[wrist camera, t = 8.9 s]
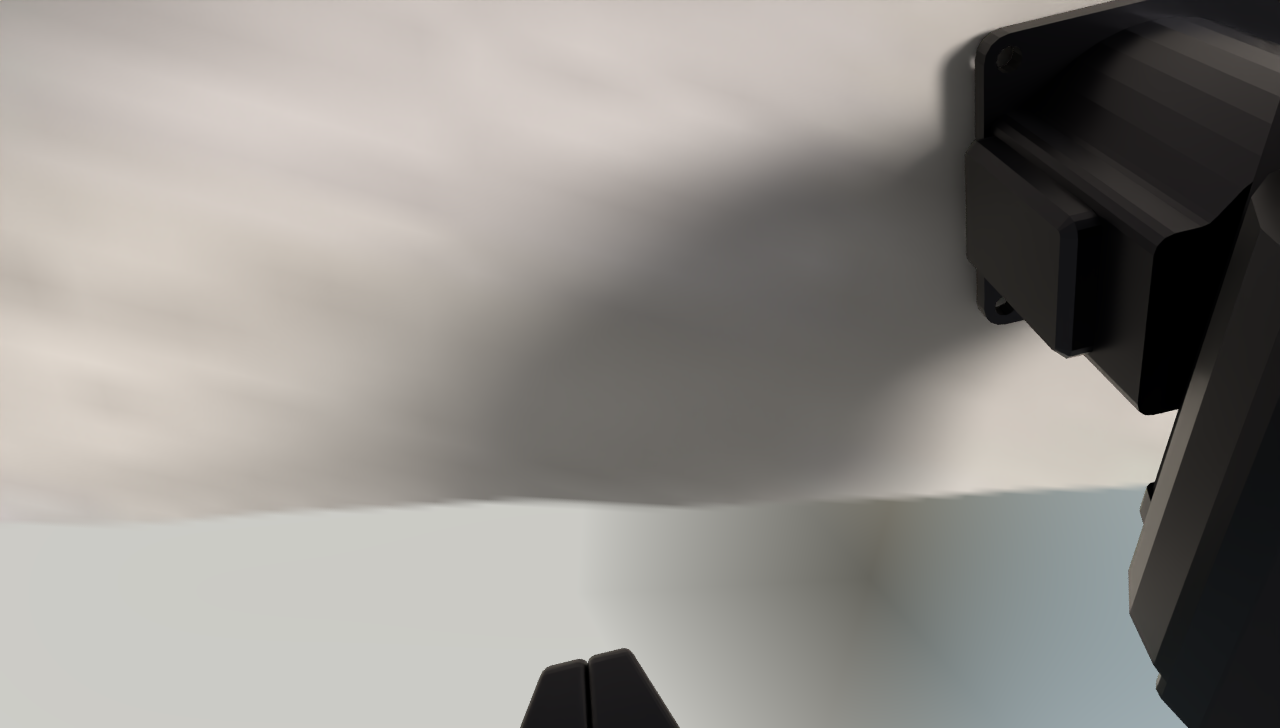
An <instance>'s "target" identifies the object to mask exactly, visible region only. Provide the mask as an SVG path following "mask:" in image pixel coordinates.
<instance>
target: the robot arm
mask: <svg viewBox="0 0 1280 728" xmlns="http://www.w3.org/2000/svg"><path fill="white" fill-rule="evenodd" d="M1008 46H1012V48H1013V53H1012V57H1011V59H1010V60H1009V61H1008V63H1007V64H1005V65H1003V66H1002V67H997V64H996V61H997V57H998V55H999V54H1000V52H1001V51H1002V50H1003V49H1005V48H1007V47H1008ZM975 138H976V140H974V141H973V142H972V144H971V146H970V147H969V149H968V150H967V152H966V154H965V192H966V255H967V259H968V260H969V261H970V262H971V264H972V265H973V266H974V267H975V268H976V276H977V305H978V309H979V310H980V311H981V312H982V313H983V315H984V316H985V317H986V318H987V319H988V320H989V321H990V322H991V323H994V324H997V325H1001V324H1009V323H1013V322H1017V321H1021V320H1025V321H1026V322H1027V323H1028V324H1029V325H1030V327H1031V328H1032V329H1033V330H1034V331H1035V332H1036V333H1037V334H1038V335H1039V336H1040V337H1041V338H1042V339H1043V340H1044V341H1045V343H1046V344H1047V345H1048V346H1049V347H1050V348H1051V349H1052V350H1054V351H1055V352H1057V353H1058V354H1060V355H1062V356H1063V357H1065V358H1066V359H1067V358H1071V357H1076V356H1080V355H1084V356H1085V357H1086V358H1087V359H1088V360H1089V361H1090V362H1091V363H1092V364H1093V365H1094V366H1095V367H1096V368H1097V369H1098V370H1099V371H1100V372H1101V373H1102V374H1103V375H1104V376H1105V377H1106V378H1107V379H1108V380H1109V381H1110V382H1111V383H1112V384H1113V385H1114V386H1115V387H1116V388H1117V389H1118V390H1119V391H1120V393H1121V394H1122V395H1123V396H1124V397H1125V398H1126V399H1127V400H1128V401H1129V402H1130V403H1131V404H1132V405H1133V406H1134V407H1135V408H1136V409H1137V410H1138V411H1139V412H1141V413H1142V414H1144V415H1155V414H1159V413H1164V412H1168V411H1172V410H1176V409H1179V410H1178V413H1177V416H1176V419H1175V422H1174V425H1173V428H1172V431H1171V434H1170V437H1169V440H1168V443H1167V446H1166V449H1165V452H1164V455H1163V458H1162V462H1161V465H1160V468H1159V471H1158V474H1157V477H1156V480H1155V482H1153V483H1150V484H1149V485H1148V486H1147V488H1146V491H1145V494H1144V497H1143V500H1142V503H1141V506H1140V514H1141V517H1142V520H1143V524H1144V525H1143V528H1142V531H1141V534H1140V537H1139V540H1138V543H1137V547H1136V549H1135V552H1134V555H1133V558H1132V561H1131V564H1130V567H1129V571H1128V572H1129V573H1128V574H1129V614H1130V616H1131V618H1132V620H1133V622H1134V625H1135V627H1136V629H1137V631H1138V633H1139V635H1140V637H1141V639H1142V642H1143V644H1144V646H1145V648H1146V650H1147V652H1148V654H1149V657H1150V659H1151V661H1152V663H1153V665H1154V666H1155V668H1156V669H1157V670H1158V672H1159V675H1158V678H1157V681H1156V690H1157V692H1158V693H1159V696H1160V697H1161V699H1162V700H1163V701H1164V702H1165V703H1166V704H1167V705H1168V707H1169V708H1170V709H1171V710H1172V711H1173V712H1174V713H1175V714H1176V715H1177V716H1178V717H1179V718H1180V720H1182V722H1183V723H1184V724H1185V725H1186V726H1187V727H1188V728H1280V0H1115V1H1111V2H1106V3H1102V4H1098V5H1094V6H1090V7H1086V8H1082V9H1077V10H1073V11H1069V12H1065V13H1061V14H1057V15H1053V16H1048V17H1044V18H1040V19H1036V20H1032V21H1028V22H1023V23H1019V24H1015V25H1011V26H1007V27H1003V28H999V29H997V30H995V31H993V32H990V33H989V34H988V35H987V36H986V37H985V38H984V39H983V40H982V41H981V43H980V45H979V47H978V49H977V51H976V57H975ZM1001 297H1003V298H1004V299H1005V300H1006V302H1005V303H1004V304H1002V305H1000V306H996V302H997V301H998V300H999V299H1000V298H1001ZM520 728H680V727H679V726H678V724H677V723H676V721H675V719H674V718H673V716H672V715H671V713H670V712H669V710H668V708H667V707H666V705H665V704H664V702H663V700H662V699H661V697H660V696H659V694H658V692H657V691H656V689H655V688H654V686H653V685H652V683H651V681H650V680H649V678H648V677H647V675H646V673H645V672H644V670H643V669H642V667H641V665H640V664H639V662H638V661H637V659H636V658H635V656H634V654H633V653H632V652H631V651H630V650H629V649H626V648H622V649H618V650H614V651H609V652H606V653H601V654H597V655H594V656H592V657H591V658H590V659H589V661H588V663H587V662H586V661H585V660H583V659H577V660H572V661H568V662H564V663H560V664H556V665H552V666H549V667H547V668H546V669H545V670H544V671H543V672H542V674H541V676H540V678H539V681H538V683H537V686H536V688H535V691H534V693H533V696H532V698H531V701H530V704H529V706H528V709H527V711H526V714H525V716H524V719H523V722H522V724H521V727H520Z"/></svg>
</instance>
